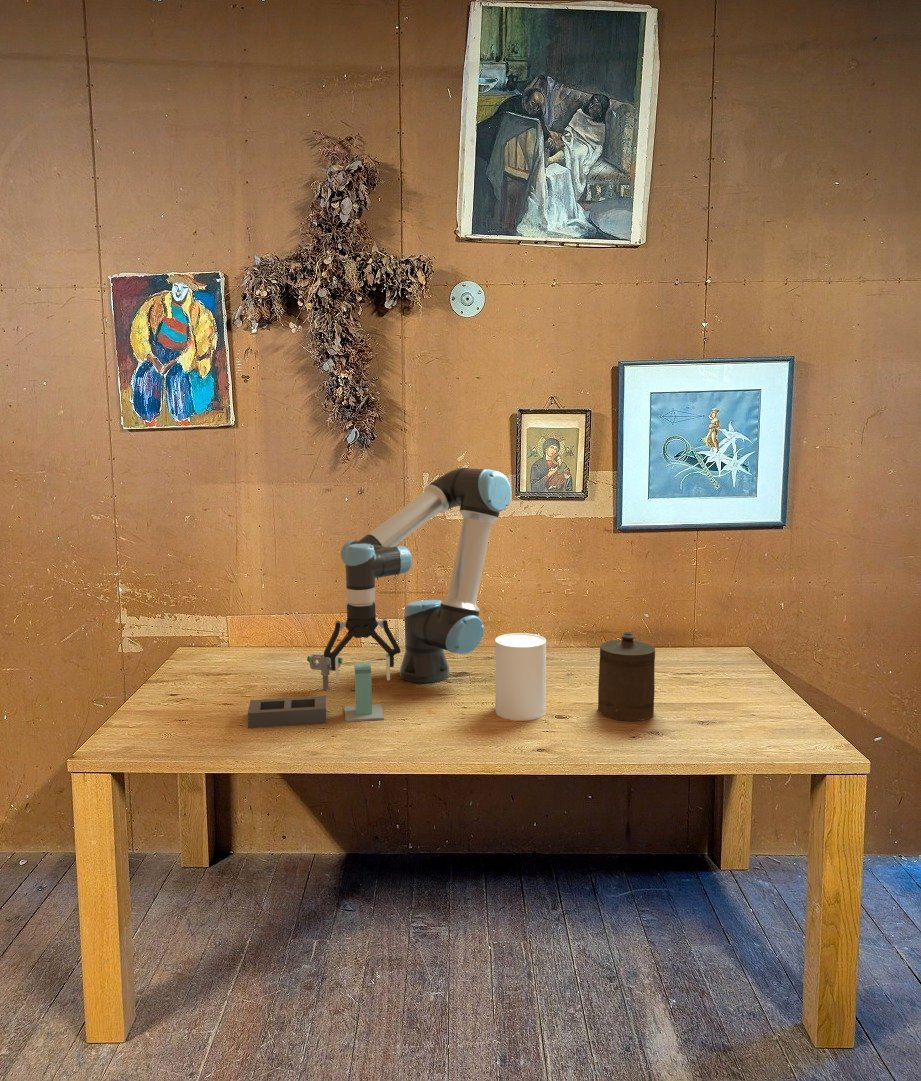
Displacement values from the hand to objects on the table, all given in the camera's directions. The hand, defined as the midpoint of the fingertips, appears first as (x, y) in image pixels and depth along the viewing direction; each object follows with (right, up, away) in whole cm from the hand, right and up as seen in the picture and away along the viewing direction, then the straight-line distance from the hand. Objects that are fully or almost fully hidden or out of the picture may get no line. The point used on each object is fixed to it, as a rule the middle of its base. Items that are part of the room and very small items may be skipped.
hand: (362, 680), depth 236 cm
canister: (+42, -9, +3) cm, 43 cm away
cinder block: (-20, -10, -1) cm, 22 cm away
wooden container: (+71, -9, +2) cm, 71 cm away
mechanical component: (-13, -6, +22) cm, 26 cm away
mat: (0, -9, +2) cm, 9 cm away
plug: (0, -9, +1) cm, 9 cm away
